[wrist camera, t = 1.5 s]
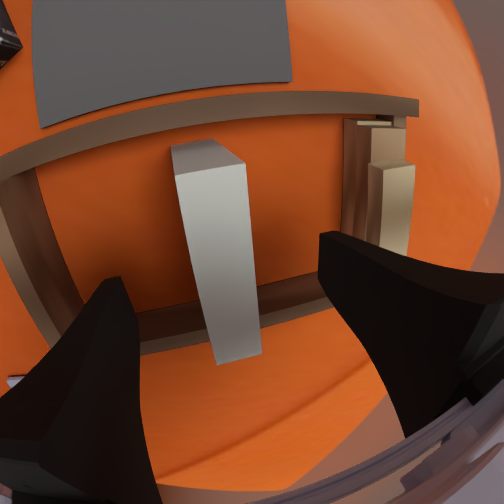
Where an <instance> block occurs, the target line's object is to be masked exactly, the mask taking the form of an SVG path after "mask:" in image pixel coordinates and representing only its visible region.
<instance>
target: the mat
mask: <svg viewBox="0 0 504 504" xmlns="http://www.w3.org/2000/svg"><path fill="white" fill-rule="evenodd" d="M32 62H33V76H34V87H35V96H36V104H37V111H38V117H39V123H40V129H41V128H45V127H47V126H50V125H53V124H55V123H58V122H61V121H64V120H67V119H70V118H73V117H76V116H79V115H82V114H85V113H88V112H92V111H95V110H98V109H102V108H106V107H109V106H113V105H117V104H121V103H125V102H129V101H133V100H138V99H142V98H147V97H152V96H157V95H162V94H168V93H173V92H179V91H186V90H192V89H199V88H207V87H216V86H225V85H236V84H250V83H269V82H292V69H291V56H290V44H289V33H288V23H287V13H286V4H285V0H33V4H32Z"/></svg>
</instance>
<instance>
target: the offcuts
mask: <svg viewBox="0 0 504 504" xmlns="http://www.w3.org/2000/svg"><path fill="white" fill-rule="evenodd" d="M405 143H406V129H404V128H400V127H396V126H392V125H391V122H389V121H385V120H380V119H361V118H344V164H343V196H342V216H341V233H345V234H348V235H350V236H353V237H356V238H358V239H361V240H364V241H366V242H369V243H371V244H374V245H377V246H379V247H382V248H384V249H387V250H390V251H392V252H395V253H398V254H401V255H404V256H406V254H407V247H408V240H409V233H410V225H411V216H412V206H413V194H414V180H415V165H414V164H412V163H409V162H407V161H404V159H405Z"/></svg>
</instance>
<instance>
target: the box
mask: <svg viewBox="0 0 504 504" xmlns="http://www.w3.org/2000/svg"><path fill="white" fill-rule="evenodd" d="M22 48H23V46H22V44H21V42H20V40H19V38H18V36H17V33H16V31H15V29H14V27H13V25H12V22H11V20H10V18H9V15H8V13H7V10H6V8H5V5H4V3H3V0H0V69H1V68H2V67H3V66H4V65H5V64H6V63H7V62H8V61H9V60H10V59H11V58H12V57H13V56H14V55H15V54H16V53H17V52H18V51H19V50H21V49H22Z"/></svg>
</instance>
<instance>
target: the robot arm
mask: <svg viewBox="0 0 504 504" xmlns="http://www.w3.org/2000/svg"><path fill="white" fill-rule="evenodd" d="M317 279H318V281H319V283H320V285H321V287H322V288H323V290H324V292H325V294H326V296H327V297H328V299H329V300H330V302H331V303H332V305H333V306H334V307H335V309H336V310H337V311H338V313H339V314H340V315H341V317H342V318H343V319H344V320H345V322H346V323H347V324H348V326H349V327H350V328H351V330H352V331H353V332H354V334H355V335H356V336H357V338H358V339H359V340H360V342H361V343H362V345H363V346H364V348H365V349H366V351H367V353H368V355H369V356H370V358H371V360H372V362H373V364H374V365H375V367H376V369H377V371H378V373H379V375H380V377H381V379H382V381H383V383H384V385H385V387H386V389H387V392H388V394H389V396H390V398H391V401H392V403H393V405H394V407H395V410H396V413H397V415H398V418H399V421H400V424H401V426H402V430H403V433H404V436H405V438H406V439H404V440H403V441H401V442H400V443H398V444H396V445H395V446H392V447H391V448H389V449H387V450H385V451H383V452H382V453H380V454H378V455H376V456H374V457H372V458H370V459H368V460H366V461H364V462H362V463H360V464H358V465H356V466H354V467H351V468H349V469H347V470H345V471H342V472H340V473H338V474H335V475H333V476H331V477H328V478H326V479H323V480H321V481H318V482H315V483H313V484H310V485H307V486H305V487H302V488H299V489H296V490H293V491H290V492H287V493H283V494H280V495H277V496H273V497H270V498H266V499H263V500H259V501H255V502H251V503H246V504H330V503H332V502H335V501H337V500H339V499H341V498H344V497H346V496H348V495H350V494H353V493H355V492H357V491H359V490H361V489H363V488H365V487H367V486H369V485H371V484H373V483H375V482H377V481H379V480H381V479H382V478H384V477H386V476H388V475H390V474H391V473H393V472H395V471H396V470H398V469H400V468H402V467H403V466H405V465H407V464H408V463H410V462H411V461H413V460H415V459H416V458H418V457H419V456H421V455H422V454H424V453H425V452H427V451H428V450H430V449H431V448H432V447H434V446H435V445H437V444H438V443H439V442H441V441H442V442H441V447H439V448H438V449H437V450H436V451H434V452H433V453H432V454H430V455H429V456H428V457H426V458H425V459H424V460H423V461H422V462H421V463H420V464H419V465H417V466H416V467H415V468H414V469H412V470H411V471H410V472H408V473H407V474H406V475H404V476H403V477H401V479H400V482H401V483H402V485H403V487H404V488H405V492H404V493H402V494H400V495H399V496H397V497H395V498H393V499H392V500H390V501H388V502H386V503H384V504H504V274H501V273H482V272H473V271H465V270H459V269H454V268H448V267H443V266H439V265H435V264H431V263H427V262H423V261H420V260H416V259H413V258H410V257H407V256H404V255H401V254H398V253H395V252H392V251H390V250H387V249H384V248H382V247H379V246H377V245H374V244H371V243H369V242H366V241H364V240H361V239H358V238H356V237H353V236H350V235H348V234H345V233H341V232H338V231H329V232H325V233H320V236H319V259H318V277H317ZM7 383H8V385H9V386H10V387H11V389H10V390H9V391H8V392H7V393H5V394H4V395H3V396H2V397H1V398H0V504H163V503H162V500H161V497H160V494H159V491H158V488H157V485H156V482H155V478H154V475H153V471H152V467H151V463H150V459H149V455H148V451H147V446H146V441H145V436H144V430H143V424H142V417H141V410H140V336H139V325H138V319H137V317H136V314H135V312H134V309H133V307H132V305H131V302H130V300H129V297H128V294H127V292H126V289H125V287H124V284H123V281H122V279H121V276H118V277H113V278H109V279H105V280H104V281H103V282H102V283H101V284H100V285H99V287H98V288H97V289H96V291H95V292H94V293H93V295H92V296H91V298H90V299H89V300H88V302H87V303H86V304H85V306H84V307H83V309H82V310H81V311H80V313H79V314H78V316H77V317H76V318H75V319H74V321H73V322H72V323H71V325H70V326H69V327H68V329H67V330H66V331H65V333H64V334H63V335H62V337H61V338H60V339H59V340H58V341H57V343H56V344H55V345H54V346H53V347H52V348H51V350H50V351H49V352H48V353H47V354H46V355H45V356H44V357H43V359H42V360H41V361H40V362H39V363H38V364H37V365H36V366H35V367H34V368H33V369H32V370H31V371H30V372H29V373H28V374H27V375H26V376H20V377H8V378H7Z"/></svg>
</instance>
